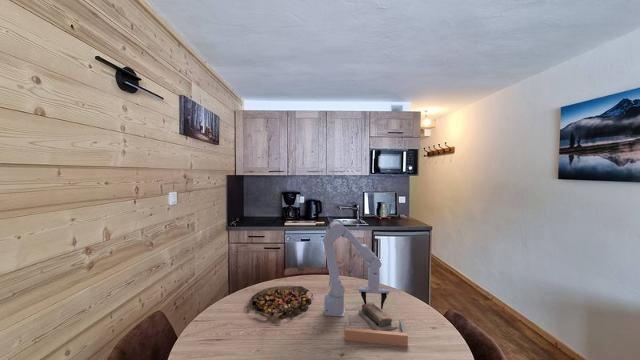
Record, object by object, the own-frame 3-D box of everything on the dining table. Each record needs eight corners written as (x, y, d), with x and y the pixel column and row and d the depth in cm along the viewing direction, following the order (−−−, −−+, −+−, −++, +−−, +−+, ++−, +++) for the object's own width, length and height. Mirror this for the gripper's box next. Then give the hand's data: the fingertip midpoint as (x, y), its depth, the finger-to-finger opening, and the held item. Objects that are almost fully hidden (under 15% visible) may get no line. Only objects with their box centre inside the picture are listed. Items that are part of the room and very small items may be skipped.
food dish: (298, 328, 120) (298, 311, 119) (235, 318, 130) (234, 302, 130) (322, 294, 153) (322, 280, 153) (270, 288, 163) (270, 275, 163)
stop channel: (344, 340, 109) (344, 330, 109) (347, 319, 125) (347, 311, 125) (407, 346, 105) (407, 335, 105) (402, 324, 121) (402, 315, 121)
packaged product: (357, 303, 131) (375, 300, 135) (357, 313, 131) (375, 310, 135) (377, 322, 114) (397, 318, 118) (377, 333, 114) (397, 329, 118)
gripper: (388, 278, 136) (388, 305, 136) (359, 276, 139) (359, 302, 139) (389, 283, 129) (389, 311, 129) (358, 281, 132) (358, 309, 132)
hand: (373, 307), depth 134 cm, fingers open, 7 cm apart
